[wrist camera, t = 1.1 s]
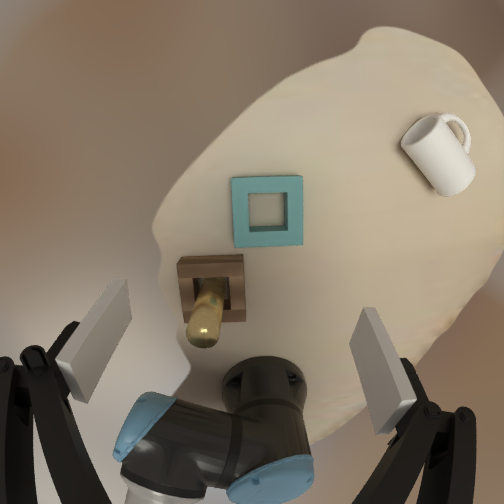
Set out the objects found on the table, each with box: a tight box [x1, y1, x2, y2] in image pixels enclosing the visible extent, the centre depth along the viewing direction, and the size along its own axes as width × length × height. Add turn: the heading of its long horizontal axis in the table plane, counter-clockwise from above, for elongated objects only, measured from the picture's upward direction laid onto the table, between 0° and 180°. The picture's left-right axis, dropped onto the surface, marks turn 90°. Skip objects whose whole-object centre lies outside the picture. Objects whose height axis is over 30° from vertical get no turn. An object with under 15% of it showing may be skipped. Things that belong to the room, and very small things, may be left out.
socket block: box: [231, 175, 303, 248], centre depth 39 cm, size 9×9×4 cm
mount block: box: [177, 254, 246, 323], centre depth 42 cm, size 9×9×4 cm
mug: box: [401, 113, 476, 197], centre depth 35 cm, size 12×10×8 cm
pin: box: [186, 277, 226, 348], centre depth 37 cm, size 4×4×14 cm
